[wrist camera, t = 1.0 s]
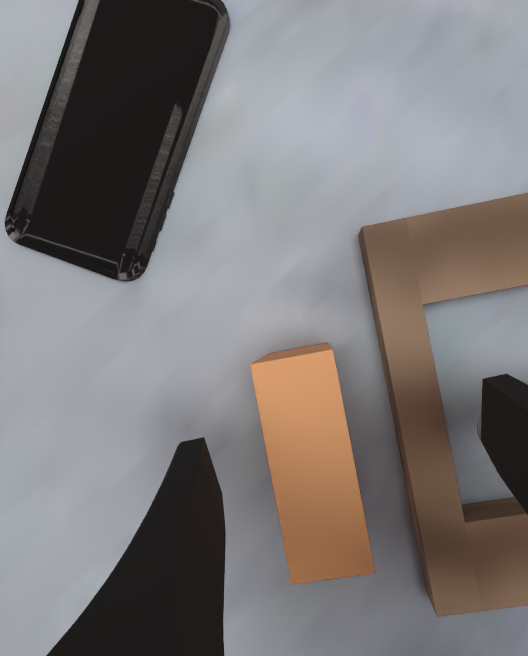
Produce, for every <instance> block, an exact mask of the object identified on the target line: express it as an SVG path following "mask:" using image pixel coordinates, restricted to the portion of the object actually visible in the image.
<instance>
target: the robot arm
mask: <svg viewBox="0 0 528 656" xmlns="http://www.w3.org/2000/svg"><path fill="white" fill-rule="evenodd" d="M481 442H482V444H483V445H484V447H485V449H486V451H487V453H488V455H489V457H490V459H491V461H492V463H493V464H494V466H495V468H496V470H497V472H498V473H499V475H500V476H501V478H502V479H503V481H504V482H505V484H506V485H507V487H508V488H509V489H510V491H511V492H512V494H513V495H514V496H515V498H516V499H517V501H518V502H519V503H520V505H521V506H522V508H523V509H524V510H525V512H526V513H527V514H528V385H527V384H525V383H523V382H521V381H519V380H518V379H516V378H514V377H512V376H510V375H508V374H504V375H499V376H494V377H489V378H485V379H483V385H482V413H481ZM224 574H225V519H224V508H223V497H222V492H221V489H220V485H219V482H218V479H217V476H216V473H215V470H214V467H213V464H212V461H211V457H210V454H209V451H208V448H207V445H206V442H205V439H204V437H203V438H199V439H194V440H189V441H184V442H181V443H180V444H179V445H178V447H177V449H176V452H175V454H174V457H173V459H172V461H171V464H170V466H169V468H168V471H167V473H166V475H165V477H164V480H163V482H162V484H161V486H160V488H159V490H158V492H157V494H156V496H155V498H154V500H153V502H152V504H151V506H150V508H149V510H148V512H147V514H146V516H145V518H144V520H143V521H142V523H141V525H140V527H139V529H138V530H137V532H136V534H135V536H134V537H133V539H132V541H131V543H130V544H129V546H128V548H127V549H126V551H125V553H124V554H123V556H122V557H121V559H120V560H119V562H118V564H117V565H116V567H115V568H114V570H113V571H112V573H111V574H110V576H109V577H108V579H107V580H106V581H105V583H104V584H103V586H102V587H101V588H100V590H99V591H98V592H97V594H96V595H95V597H94V598H93V599H92V601H91V602H90V603H89V605H88V606H87V607H86V609H85V610H84V611H83V613H82V614H81V615H80V616H79V618H78V619H77V620H76V621H75V623H74V624H73V625H72V626H71V628H70V629H69V630H68V631H67V632H66V633H65V635H64V636H63V637H62V638H61V639H60V640H59V642H58V643H57V644H56V645H55V646H54V647H53V649H52V650H51V651H50V652H49V653H48V654H47V656H224V642H223V609H224Z"/></svg>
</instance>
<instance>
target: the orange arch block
mask: <svg viewBox="0 0 528 656" xmlns="http://www.w3.org/2000/svg"><path fill="white" fill-rule="evenodd" d="M250 366H251V371H252V377H253V382H254V387H255V393H256V398H257V403H258V409H259V414H260V419H261V425H262V430H263V435H264V441H265V446H266V451H267V457H268V462H269V467H270V473H271V478H272V483H273V489H274V494H275V499H276V505H277V510H278V515H279V521H280V526H281V531H282V537H283V542H284V547H285V553H286V558H287V563H288V569H289V574H290V579H291V585H293V584H300V583H307V582H315V581H322V580H329V579H337V578H344V577H351V576H358V575H366V574H373V573H375V569H374V563H373V558H372V553H371V548H370V542H369V537H368V532H367V527H366V521H365V516H364V511H363V505H362V500H361V495H360V490H359V484H358V479H357V474H356V469H355V463H354V458H353V453H352V448H351V442H350V437H349V432H348V427H347V421H346V416H345V411H344V406H343V400H342V395H341V390H340V385H339V379H338V374H337V369H336V363H335V358H334V353H333V349H332V348H331V347H330V345H329V344H328V343H323V344H318V345H313V346H307V347H302V348H296V349H291V350H285V351H280V352H275V353H269V354H267V355H266V356H264V357H262V358H260V359H259V360H257V361H255V362H254V363H252V364H250Z"/></svg>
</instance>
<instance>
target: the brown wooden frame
mask: <svg viewBox="0 0 528 656" xmlns="http://www.w3.org/2000/svg"><path fill="white" fill-rule="evenodd" d="M358 236H359V241H360V246H361V252H362V257H363V262H364V267H365V273H366V278H367V283H368V288H369V293H370V299H371V304H372V309H373V314H374V319H375V325H376V330H377V335H378V340H379V346H380V351H381V356H382V361H383V366H384V372H385V377H386V382H387V387H388V392H389V398H390V403H391V408H392V413H393V419H394V424H395V429H396V434H397V439H398V445H399V450H400V455H401V460H402V466H403V471H404V476H405V481H406V486H407V492H408V497H409V502H410V507H411V512H412V518H413V523H414V528H415V533H416V539H417V544H418V549H419V554H420V559H421V565H422V570H423V575H424V580H425V585H426V591H427V594H428V597H429V599H430V602H431V604H432V606H433V609H434V611H435V613H436V616H437V617H438V616H446V615H454V614H462V613H470V612H478V611H485V610H493V609H501V608H509V607H517V606H525V605H528V514H527V513H526V512H525V510H524V509H523V508H522V506H521V505H520V503H519V502H518V501H517V499H516V498H509V499H502V500H495V501H488V502H481V503H475V504H468V505H461V500H460V494H459V489H458V484H457V479H456V474H455V469H454V463H453V458H452V453H451V448H450V443H449V438H448V432H447V427H446V422H445V417H444V412H443V406H442V401H441V396H440V391H439V386H438V381H437V375H436V370H435V365H434V360H433V355H432V350H431V344H430V339H429V334H428V329H427V324H426V319H425V313H424V308H423V304H428V303H434V302H439V301H444V300H449V299H455V298H460V297H465V296H471V295H476V294H481V293H487V292H492V291H497V290H503V289H508V288H513V287H518V286H524V285H528V193H524V194H520V195H515V196H510V197H505V198H500V199H495V200H491V201H486V202H481V203H476V204H471V205H466V206H461V207H457V208H452V209H447V210H442V211H437V212H432V213H427V214H423V215H418V216H413V217H408V218H403V219H398V220H393V221H389V222H384V223H379V224H374V225H369V226H364V227H362V228H361V230H360V232H359V235H358Z"/></svg>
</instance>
